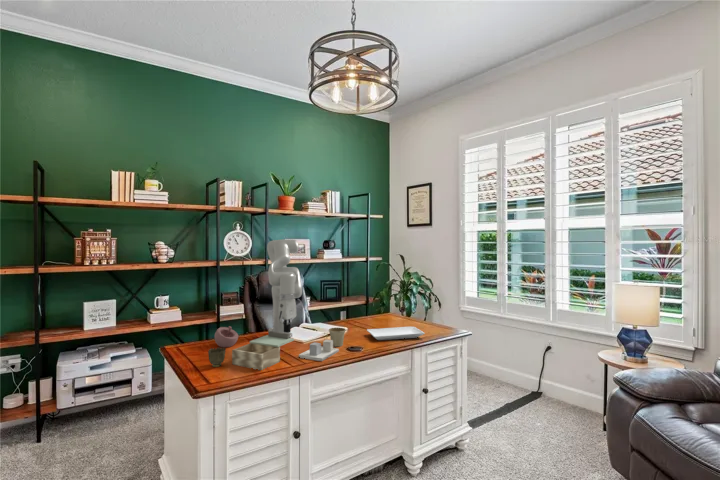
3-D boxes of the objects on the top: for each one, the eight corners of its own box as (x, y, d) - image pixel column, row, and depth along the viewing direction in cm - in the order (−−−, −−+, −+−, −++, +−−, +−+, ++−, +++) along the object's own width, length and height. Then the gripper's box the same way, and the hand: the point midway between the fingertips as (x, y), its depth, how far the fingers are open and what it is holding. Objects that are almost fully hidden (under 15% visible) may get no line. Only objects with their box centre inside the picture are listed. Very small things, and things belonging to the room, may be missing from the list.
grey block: (309, 354, 182) (309, 344, 182) (314, 352, 185) (313, 342, 185) (316, 355, 180) (316, 345, 180) (320, 353, 184) (320, 343, 184)
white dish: (298, 357, 180) (298, 354, 180) (317, 348, 196) (317, 345, 196) (321, 361, 175) (321, 358, 175) (338, 351, 190) (338, 348, 190)
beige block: (323, 351, 187) (323, 341, 187) (325, 349, 191) (325, 339, 191) (330, 352, 186) (330, 342, 186) (333, 349, 190) (333, 340, 190)
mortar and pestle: (230, 351, 191) (230, 329, 191) (209, 350, 193) (209, 328, 193) (242, 344, 202) (242, 323, 202) (222, 343, 205) (222, 323, 205)
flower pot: (343, 348, 196) (343, 332, 196) (326, 347, 198) (326, 331, 198) (347, 343, 205) (347, 327, 205) (331, 342, 207) (331, 327, 207)
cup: (211, 364, 170) (211, 347, 170) (227, 364, 171) (227, 346, 171) (205, 370, 163) (205, 352, 163) (222, 369, 163) (222, 351, 163)
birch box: (232, 365, 169) (232, 349, 169) (251, 357, 181) (251, 342, 181) (261, 370, 162) (261, 354, 162) (279, 361, 174) (279, 346, 174)
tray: (425, 338, 217) (425, 332, 217) (374, 342, 209) (374, 336, 209) (414, 331, 233) (414, 326, 233) (366, 334, 225) (366, 329, 225)
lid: (249, 343, 180) (249, 336, 180) (266, 336, 191) (266, 330, 191) (277, 347, 173) (277, 340, 173) (294, 340, 184) (294, 333, 184)
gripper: (284, 299, 185) (284, 336, 185) (301, 295, 199) (301, 329, 198) (272, 298, 188) (272, 334, 188) (289, 294, 202) (289, 328, 202)
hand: (287, 331), depth 193 cm, fingers closed
